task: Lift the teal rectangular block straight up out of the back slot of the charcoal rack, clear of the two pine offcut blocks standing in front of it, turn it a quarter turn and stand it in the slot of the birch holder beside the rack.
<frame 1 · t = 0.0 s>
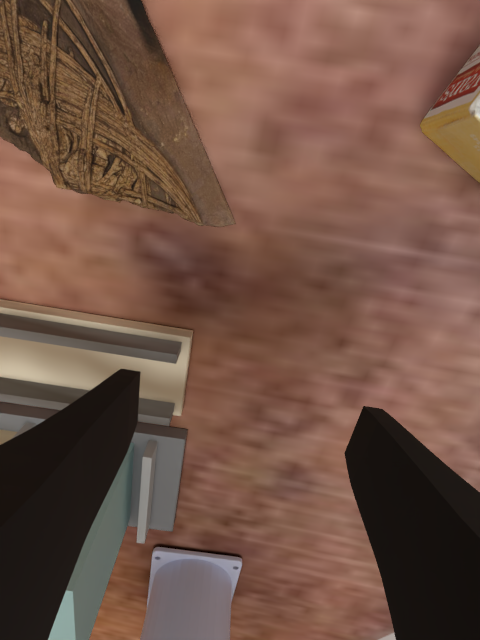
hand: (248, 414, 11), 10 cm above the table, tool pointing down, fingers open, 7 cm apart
holder: (65, 351, 21), on the table
wooden fragment: (33, 7, 15), on the table
teal rectangular block: (118, 481, 25), point 1 cm above the table, touching rack
rack: (58, 461, 25), on the table
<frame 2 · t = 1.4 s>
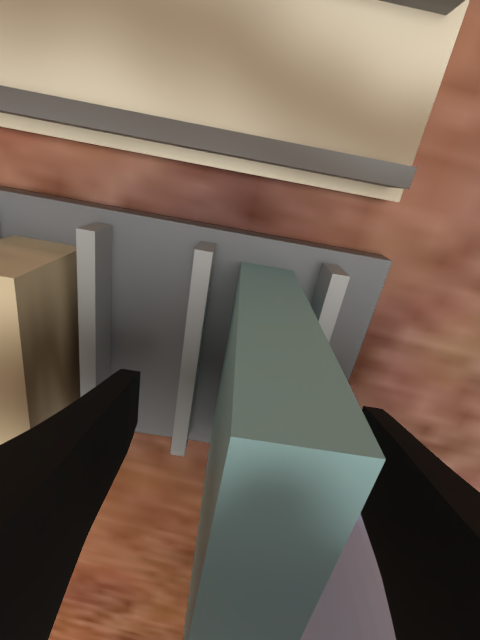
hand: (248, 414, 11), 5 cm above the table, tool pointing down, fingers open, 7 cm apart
holder: (182, 58, 11), on the table
teal rectangular block: (248, 357, 14), point 1 cm above the table, touching rack
rack: (137, 328, 15), on the table
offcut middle: (54, 326, 14), point 1 cm above the table, touching rack
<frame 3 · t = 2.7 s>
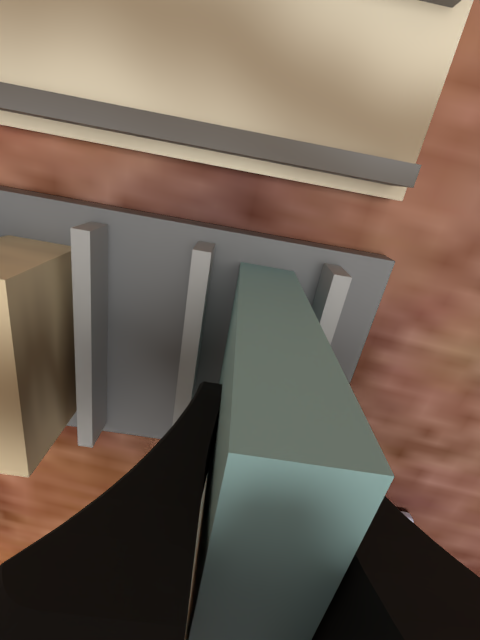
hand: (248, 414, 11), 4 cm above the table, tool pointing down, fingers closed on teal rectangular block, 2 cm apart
holder: (180, 52, 10), on the table
teal rectangular block: (247, 359, 14), point 1 cm above the table, touching gripper, rack
rack: (134, 329, 14), on the table
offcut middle: (49, 327, 13), point 1 cm above the table, touching rack
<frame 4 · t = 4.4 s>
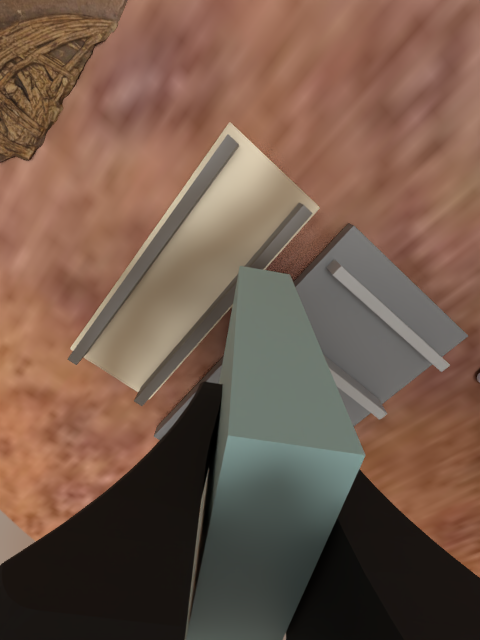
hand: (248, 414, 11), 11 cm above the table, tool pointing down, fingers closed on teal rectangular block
holder: (185, 280, 20), on the table
teal rectangular block: (246, 357, 15), point 6 cm above the table, touching gripper
rack: (295, 381, 23), on the table
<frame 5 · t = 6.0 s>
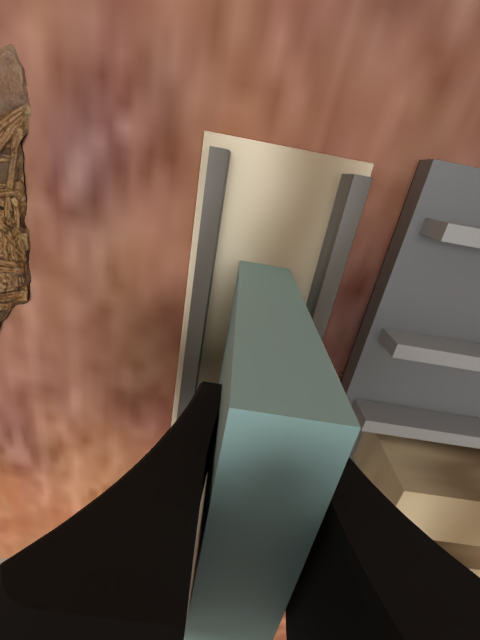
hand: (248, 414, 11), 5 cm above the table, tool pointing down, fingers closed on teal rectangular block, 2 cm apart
holder: (248, 337, 16), on the table
teal rectangular block: (246, 351, 15), point 1 cm above the table, touching gripper, holder
rack: (441, 387, 16), on the table
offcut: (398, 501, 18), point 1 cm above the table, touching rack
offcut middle: (426, 448, 17), point 1 cm above the table, touching rack
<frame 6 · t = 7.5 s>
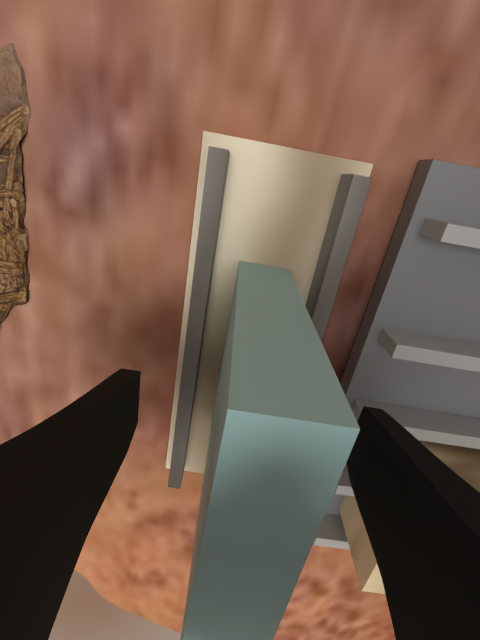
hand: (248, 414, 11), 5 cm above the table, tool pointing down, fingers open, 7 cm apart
holder: (247, 337, 16), on the table
teal rectangular block: (246, 351, 15), point 1 cm above the table, touching holder
rack: (440, 387, 16), on the table
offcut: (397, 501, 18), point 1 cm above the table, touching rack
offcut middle: (426, 448, 17), point 1 cm above the table, touching rack
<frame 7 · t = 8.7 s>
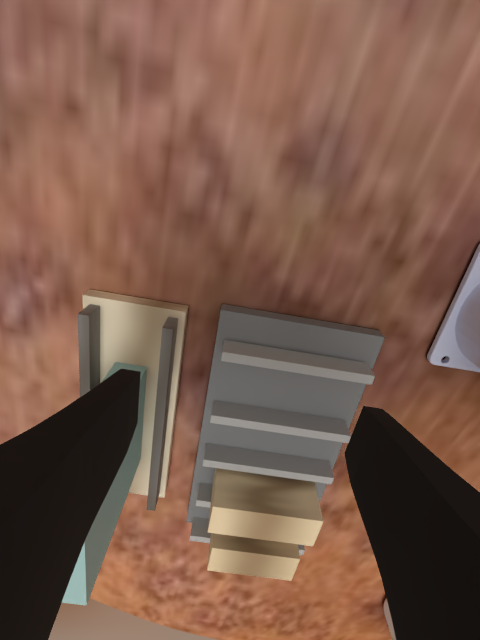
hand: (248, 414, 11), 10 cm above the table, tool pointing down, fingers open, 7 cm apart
holder: (134, 402, 23), on the table
teal rectangular block: (129, 413, 23), point 1 cm above the table, touching holder
rack: (269, 433, 24), on the table
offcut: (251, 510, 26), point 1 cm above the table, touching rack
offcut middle: (261, 474, 25), point 1 cm above the table, touching rack
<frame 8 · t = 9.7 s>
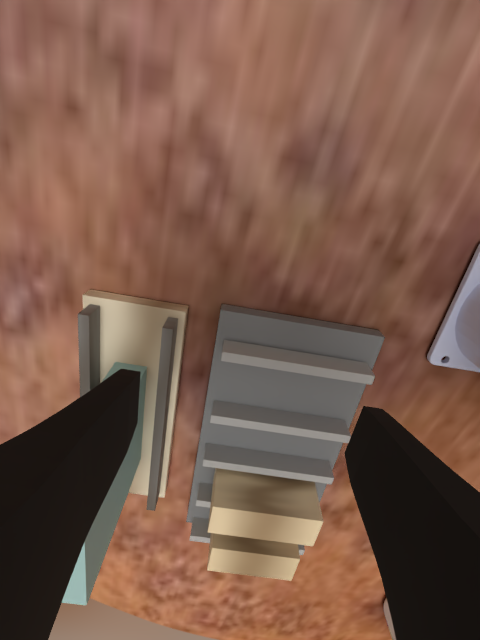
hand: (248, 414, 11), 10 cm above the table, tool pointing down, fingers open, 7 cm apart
holder: (134, 402, 23), on the table
teal rectangular block: (129, 413, 23), point 1 cm above the table, touching holder
rack: (269, 433, 24), on the table
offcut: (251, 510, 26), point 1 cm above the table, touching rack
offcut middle: (261, 474, 25), point 1 cm above the table, touching rack
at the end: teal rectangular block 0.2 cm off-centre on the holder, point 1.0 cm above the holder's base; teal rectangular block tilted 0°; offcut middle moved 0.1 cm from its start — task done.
